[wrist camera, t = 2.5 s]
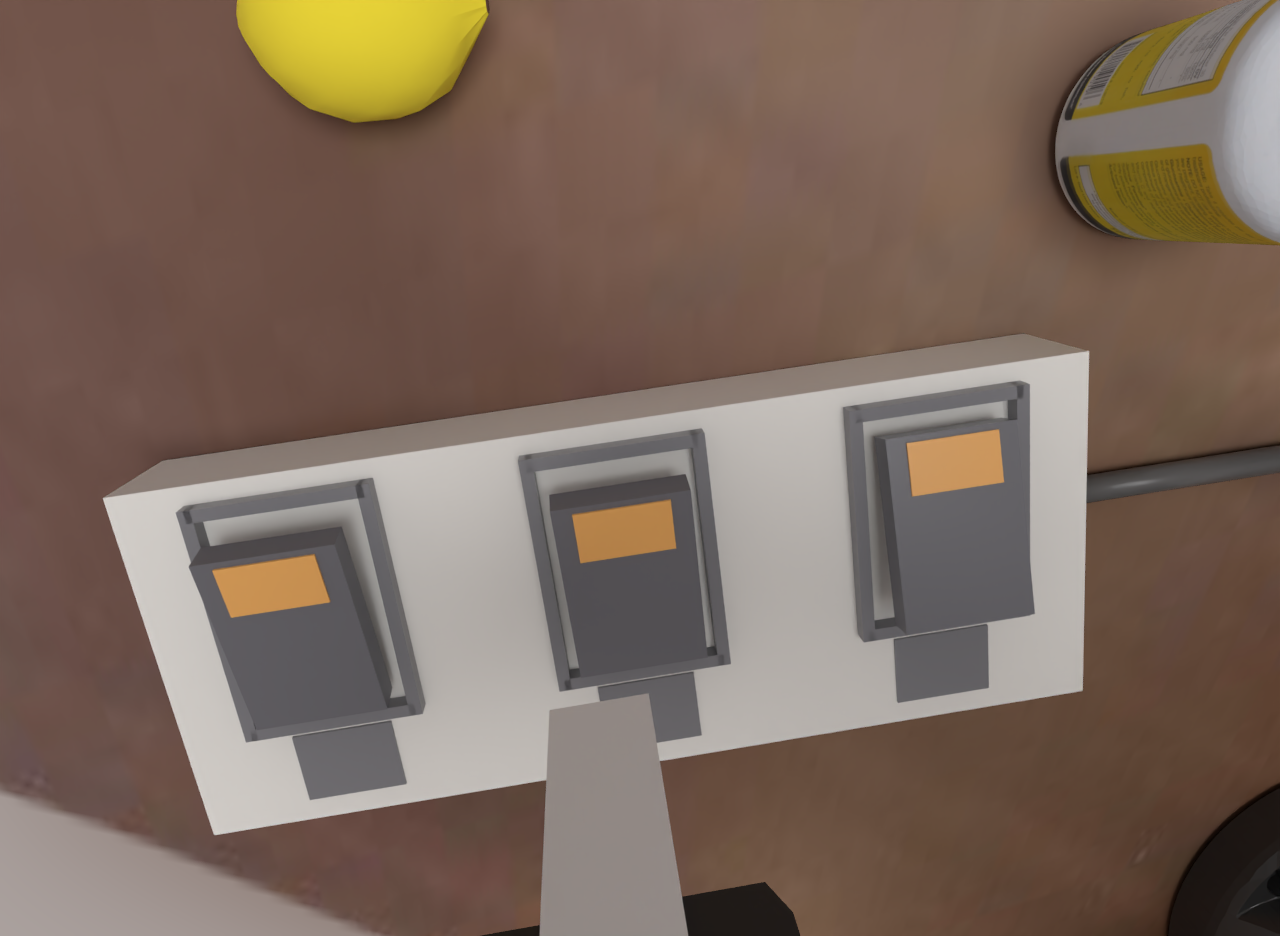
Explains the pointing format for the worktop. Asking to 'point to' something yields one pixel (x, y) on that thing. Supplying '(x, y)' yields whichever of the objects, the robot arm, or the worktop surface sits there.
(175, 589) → the rocker switch box
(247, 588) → the rocker
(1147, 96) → the pill bottle
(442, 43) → the lemon
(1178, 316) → the worktop surface
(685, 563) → the dark grey flat block
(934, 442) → the rocker
